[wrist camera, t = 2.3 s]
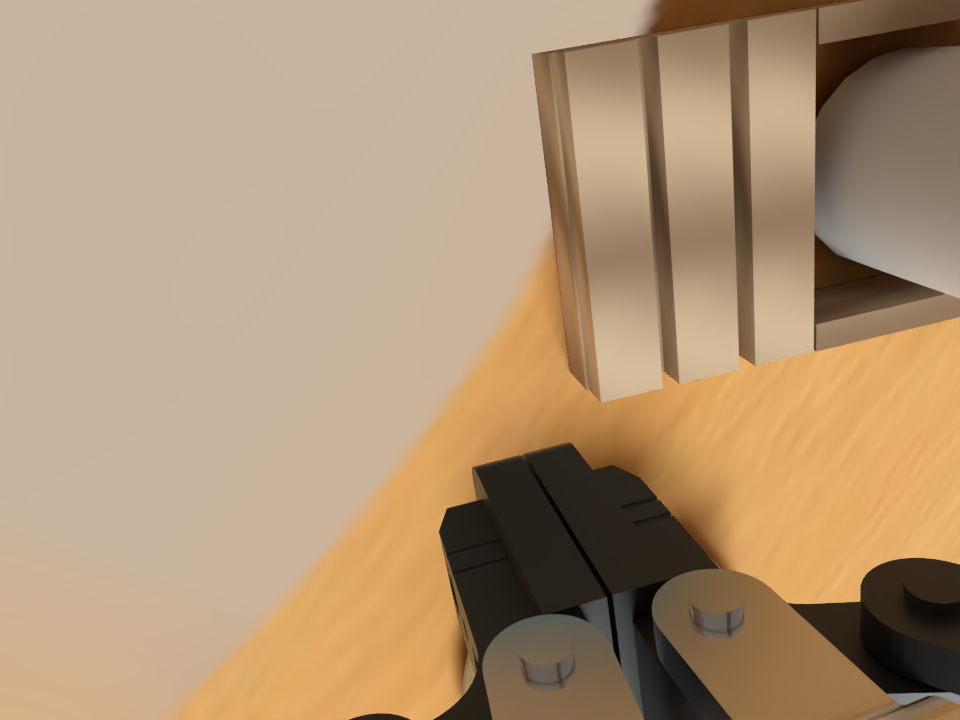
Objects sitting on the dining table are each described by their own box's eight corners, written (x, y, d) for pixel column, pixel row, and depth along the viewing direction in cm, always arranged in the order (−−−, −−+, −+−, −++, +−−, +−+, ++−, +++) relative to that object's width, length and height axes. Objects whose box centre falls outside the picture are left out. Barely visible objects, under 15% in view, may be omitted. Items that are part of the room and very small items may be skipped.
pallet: (532, 54, 25) (561, 52, 22) (1027, -32, 27) (1108, -42, 25) (569, 371, 29) (598, 403, 26) (998, 272, 32) (1064, 291, 29)
